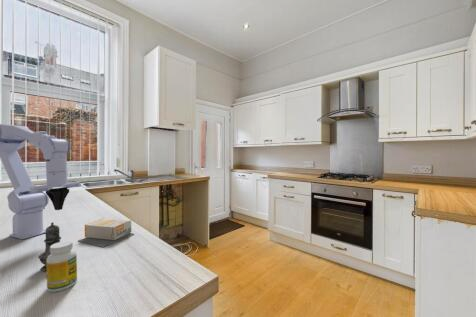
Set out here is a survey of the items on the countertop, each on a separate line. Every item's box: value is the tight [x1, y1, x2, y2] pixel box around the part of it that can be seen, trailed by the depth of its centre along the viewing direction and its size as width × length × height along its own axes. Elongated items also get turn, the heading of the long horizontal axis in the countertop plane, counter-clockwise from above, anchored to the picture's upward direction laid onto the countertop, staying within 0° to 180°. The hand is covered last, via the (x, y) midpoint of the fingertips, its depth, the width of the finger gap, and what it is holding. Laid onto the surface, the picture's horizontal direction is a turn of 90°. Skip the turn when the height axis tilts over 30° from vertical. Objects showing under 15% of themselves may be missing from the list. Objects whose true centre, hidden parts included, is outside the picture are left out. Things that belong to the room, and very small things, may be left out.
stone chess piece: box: [37, 222, 62, 273], centre depth 57 cm, size 6×6×12 cm
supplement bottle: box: [46, 240, 78, 293], centre depth 49 cm, size 5×5×10 cm
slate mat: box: [77, 232, 135, 248], centre depth 77 cm, size 13×12×1 cm
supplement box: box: [84, 218, 132, 240], centre depth 79 cm, size 8×5×13 cm
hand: (58, 209), depth 77 cm, fingers closed
